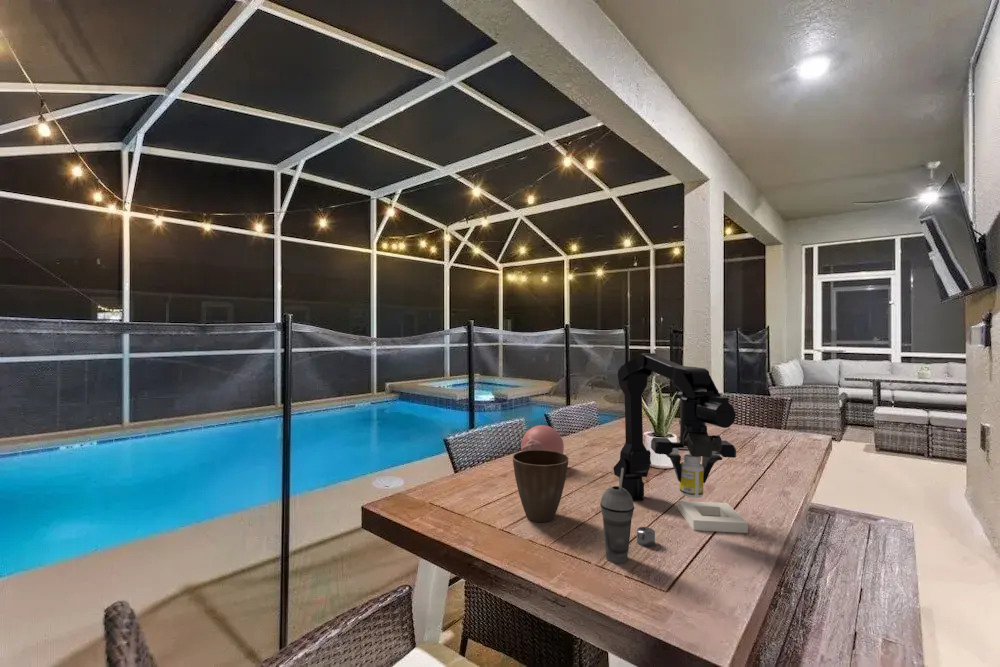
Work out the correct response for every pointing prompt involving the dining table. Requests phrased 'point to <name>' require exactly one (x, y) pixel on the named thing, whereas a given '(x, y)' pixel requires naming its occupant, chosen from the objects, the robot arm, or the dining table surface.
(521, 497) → the plant pot
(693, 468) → the supplement bottle
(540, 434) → the balloon
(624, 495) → the beverage cup
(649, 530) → the short metal stub
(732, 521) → the hole plate
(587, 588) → the dining table surface
